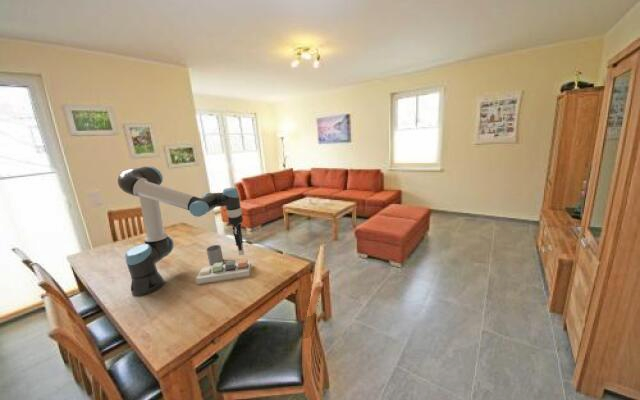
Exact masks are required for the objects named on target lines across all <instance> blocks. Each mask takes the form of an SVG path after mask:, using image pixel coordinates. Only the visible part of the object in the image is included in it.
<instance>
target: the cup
mask: <svg viewBox="0 0 640 400" xmlns="http://www.w3.org/2000/svg"><path fill="white" fill-rule="evenodd" d="M206 254H207V260H208V264H209V265H210V266H213V264H214V263H220V262H223V263H224V257H223V251H222V246H221V245H218V244H214V245H211V246H208V247H206Z"/></svg>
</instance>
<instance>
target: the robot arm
mask: <svg viewBox="0 0 640 400" xmlns="http://www.w3.org/2000/svg"><path fill="white" fill-rule="evenodd" d="M163 179H164V178H163V174H162V172H161V171H160V170H158V169H157V168H156V167H154V166H150V165H149V166H140V167H136V168H132V169H126V170H123V171H122V172H121V173H120V174H119V175H118V178H117V183H118V184H117V185H118V187H119V188H120V189H121V190H122V191H123V192H124V193H126V194H128V195H131V196H134V197H138V198H139V203H140V208H141V213H142V218H143V224H144V229H145V234H146V236H145V237H144V239H143V241H144V243H142V244H138V245H136V246H134V247H131V248H129V249H128V250H127V252H126V253H125V256H124V257H125V263H126V265H127V269H128V271H129V272H128V273H129V274H130V275H129V276H130V278H131V284H130V285H131V286H130V292H131V295H132V296H136V297H140V296H145V295H149V294H151V293H153V292H155V291H157V290H159V289H160V288H162V287H163V286H164V285H165V281H164V280H165V279H164V277H163V276H162V275H161V273H160V272H159V271H158V268H157V266H156V264H158V262H160V261H161V260H162V259H164V258H165V257H168V255H169V254H171V252H172V251H173V249H174V246H175V245H174V240H173V239H172V238H171V237H170V236H169V234H167V233H166V232H165V229H164V225H163V224H164V223H163V219H162V213H161V212H162V211H161V207H160V206H161V205H160V203H164V204H167V205H170V206H174V207H177V208H179V209H180V208H181V209H183V210H185V211H189V213H190V214H191V215H192V216H194V217H195V218H196V217H197V218H198V217H202V216H204V215H207V214H208V213H209V212H211V211H212V210H213V209H215V208H219V207H225V208H226V209H225V210H226V215H227V220H228V223H229V225H231V226H232V230H233V231H232V233H233V235H234V237H233V238H234V240H235V246H237V252H238V256H243V255H245V250H244V245H243V243H244V242H245V241H244V240H243V239H244V238H243V233H242V224H241V223H243V221H244V218H243V215H242V211H243V209H242V207H241V201H240V194H239V190H238V188H237V187H227V188H224V189H223V190H222V192H208V193H204V194H202V196H201V197H198V196H194V195H192V194H188V193H185V192H182V191H179V190H176V189H172V188H169V187H166V186H163V185H161V184H162V183H163Z"/></svg>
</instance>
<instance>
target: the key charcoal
mask: <svg viewBox="0 0 640 400" xmlns="http://www.w3.org/2000/svg"><path fill="white" fill-rule="evenodd" d="M236 263H237V262H236V260H228V261H226V262H225V268H226V269H227V271H232V270H235V264H236Z"/></svg>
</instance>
